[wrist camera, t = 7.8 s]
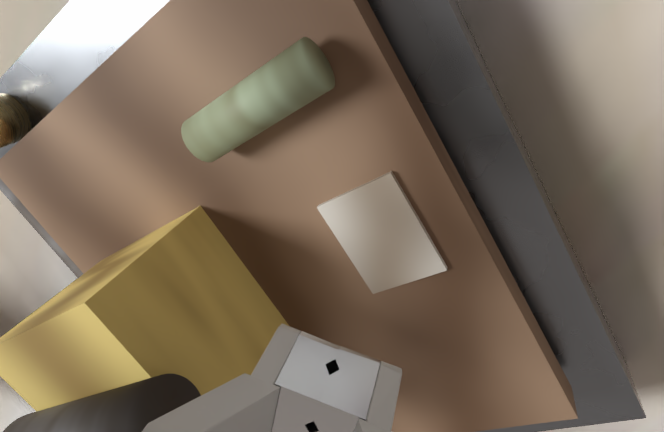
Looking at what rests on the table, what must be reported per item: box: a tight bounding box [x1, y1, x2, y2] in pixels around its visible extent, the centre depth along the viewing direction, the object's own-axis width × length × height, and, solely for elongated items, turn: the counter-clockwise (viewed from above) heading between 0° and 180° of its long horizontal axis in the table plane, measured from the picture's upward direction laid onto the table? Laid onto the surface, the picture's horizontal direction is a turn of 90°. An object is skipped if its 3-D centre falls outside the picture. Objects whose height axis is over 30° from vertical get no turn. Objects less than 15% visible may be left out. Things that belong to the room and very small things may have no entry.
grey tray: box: [0, 0, 646, 432], centre depth 20 cm, size 22×26×5 cm
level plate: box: [0, 0, 578, 432], centre depth 16 cm, size 19×20×10 cm
